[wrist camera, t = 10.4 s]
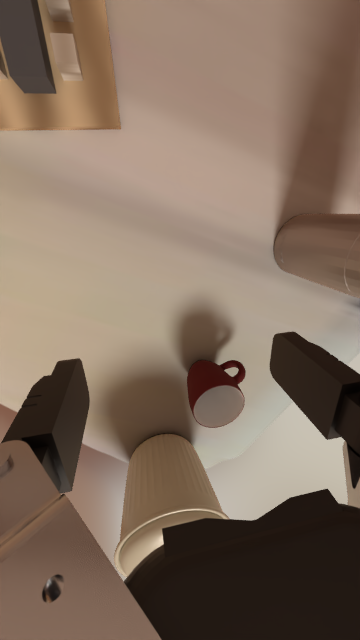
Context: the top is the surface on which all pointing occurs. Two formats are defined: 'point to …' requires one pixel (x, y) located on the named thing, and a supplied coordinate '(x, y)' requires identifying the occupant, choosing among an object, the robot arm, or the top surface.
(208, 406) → the mug
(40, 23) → the grey and orange bar
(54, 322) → the top surface
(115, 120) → the board
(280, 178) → the top surface
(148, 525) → the canister
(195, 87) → the top surface
